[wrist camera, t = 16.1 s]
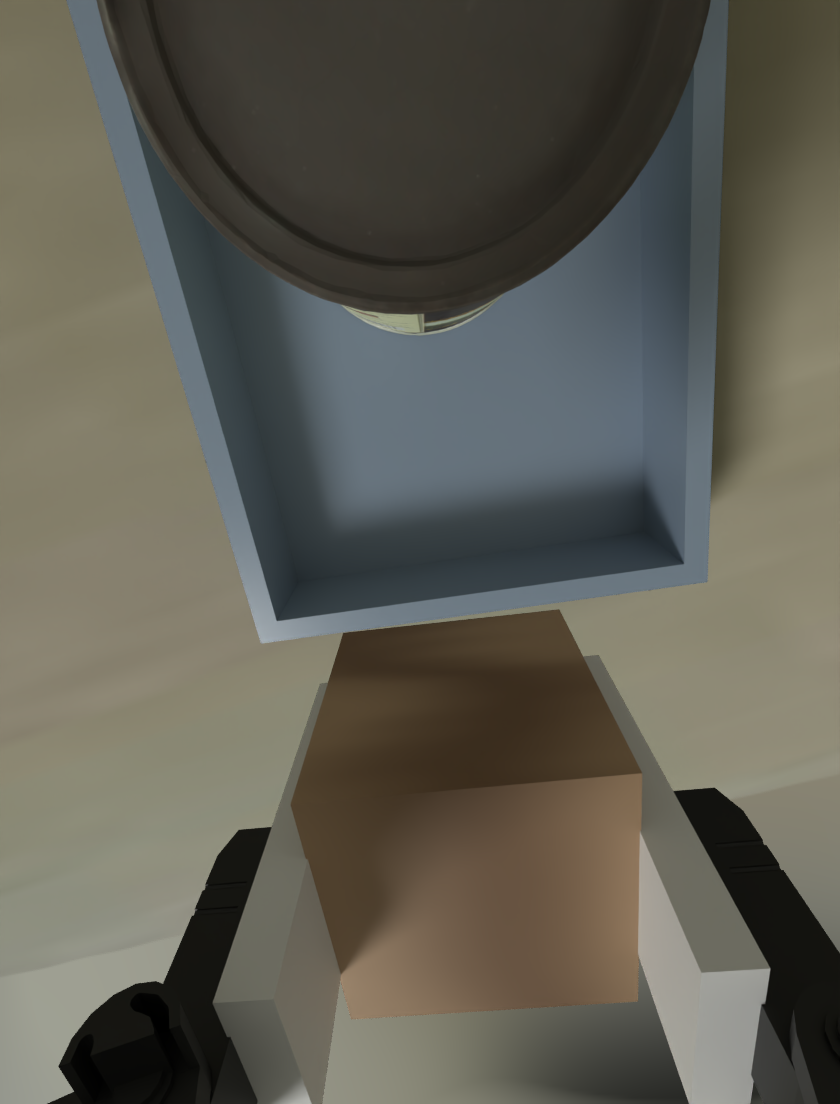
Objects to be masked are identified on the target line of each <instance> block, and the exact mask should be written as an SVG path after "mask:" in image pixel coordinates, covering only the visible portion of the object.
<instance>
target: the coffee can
mask: <svg viewBox="0 0 840 1104" xmlns="http://www.w3.org/2000/svg"><path fill="white" fill-rule="evenodd" d="M96 1H97V6H98V10H99V13H100V17H101V21H102V25H103V29H104V33H105V36H106V39H107V42H108V46H109V49H110V52H111V54H112V57H113V60H114V63H115V66H116V68H117V71H118V74H119V77H120V80H121V82H122V85H123V87H124V90H125V92H126V95H127V97H128V100H129V102H130V104H131V106H132V108H133V110H134V112H135V115H136V117H137V119H138V121H139V123H140V125H141V127H142V128H143V130H144V132H145V134H146V136H147V138H148V140H149V141H150V143H151V145H152V147H153V149H154V150H155V152H156V153H157V155H158V157H159V158H160V160H161V161H162V163H163V165H164V166H165V168H166V169H167V171H168V173H169V174H170V175H171V177H172V178H173V179H174V180H175V182H176V183H177V184H178V186H179V187H180V188H181V190H182V191H183V192H184V194H185V195H186V196H187V198H188V199H189V200H190V202H191V203H192V204H193V205H194V206H195V207H196V208H197V210H198V211H199V212H200V213H201V214H202V215H203V216H204V217H205V219H206V220H207V221H208V222H209V223H210V224H211V225H212V226H214V227H215V228H216V229H217V230H218V231H219V232H220V233H221V234H222V235H223V236H224V237H225V238H226V239H227V240H228V241H229V242H230V243H232V244H233V245H234V246H235V247H236V248H237V249H239V250H240V251H241V252H242V253H243V254H245V255H246V256H247V257H249V258H250V259H252V260H253V261H254V262H256V263H257V264H259V265H260V266H261V267H263V268H264V269H265V270H267V271H268V272H270V273H272V274H274V275H275V276H277V277H279V278H280V279H282V280H284V281H285V282H287V283H289V284H291V285H293V286H295V287H297V288H299V289H301V290H303V291H305V292H307V293H309V294H311V295H314V296H316V297H319V298H321V299H324V300H327V301H330V302H334V303H337V304H340V305H341V306H343V307H344V308H345V309H346V310H347V311H349V312H350V313H352V314H353V315H354V316H356V317H358V318H359V319H361V320H363V321H364V322H366V323H368V324H370V325H372V326H375V327H377V328H379V329H383V330H386V331H390V332H394V333H398V334H404V335H418V336H421V335H430V334H436V333H441V332H445V331H448V330H451V329H454V328H457V327H459V326H461V325H463V324H465V323H467V322H469V321H471V320H473V319H474V318H476V317H478V316H479V315H481V314H482V313H483V312H485V311H486V310H487V309H489V308H490V307H491V306H492V305H493V304H494V303H495V302H496V301H497V300H498V299H500V298H501V297H502V295H503V294H504V293H505V292H508V291H510V290H512V289H514V288H516V287H518V286H521V285H522V284H524V283H526V282H527V281H529V280H531V279H532V278H534V277H536V276H537V275H539V274H541V273H542V272H544V271H546V270H547V269H548V268H550V267H551V266H553V265H554V264H555V263H557V262H558V261H559V260H560V259H562V258H563V257H564V256H565V255H567V254H568V253H569V252H570V251H571V250H572V249H574V248H575V247H576V246H577V245H578V244H579V243H581V242H582V241H583V240H584V239H585V238H586V237H587V236H588V235H589V234H590V233H591V232H592V231H593V230H594V229H595V228H596V227H597V226H598V225H599V224H600V223H601V222H602V221H603V220H604V219H605V218H606V217H607V216H608V214H609V213H610V212H611V211H612V209H613V208H614V207H615V206H616V205H617V203H618V202H619V201H620V200H621V199H622V198H623V196H624V195H625V194H626V193H627V191H628V190H629V189H630V187H631V186H632V185H633V183H634V182H635V180H636V179H637V177H638V175H639V174H640V173H641V171H642V170H643V168H644V167H645V166H646V164H647V162H648V161H649V159H650V158H651V156H652V155H653V153H654V151H655V149H656V148H657V146H658V144H659V142H660V140H661V139H662V137H663V135H664V133H665V131H666V130H667V128H668V126H669V124H670V122H671V120H672V117H673V115H674V113H675V111H676V109H677V107H678V104H679V102H680V100H681V97H682V95H683V92H684V90H685V87H686V85H687V82H688V80H689V77H690V74H691V71H692V69H693V66H694V63H695V60H696V57H697V54H698V51H699V47H700V44H701V41H702V37H703V31H704V27H705V24H706V20H707V17H708V12H709V8H710V2H711V0H96Z"/></svg>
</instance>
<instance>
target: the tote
mask: <svg viewBox="0 0 840 1104" xmlns="http://www.w3.org/2000/svg"><path fill="white" fill-rule="evenodd" d="M67 4H68V7H69V10H70V13H71V17H72V20H73V23H74V27H75V30H76V33H77V37H78V40H79V43H80V47H81V50H82V53H83V56H84V60H85V63H86V66H87V70H88V73H89V76H90V80H91V83H92V86H93V90H94V93H95V96H96V99H97V103H98V106H99V109H100V113H101V116H102V119H103V123H104V126H105V129H106V133H107V136H108V139H109V142H110V146H111V149H112V152H113V156H114V159H115V162H116V166H117V169H118V172H119V176H120V179H121V182H122V185H123V189H124V192H125V195H126V199H127V202H128V205H129V209H130V212H131V215H132V219H133V222H134V225H135V228H136V232H137V235H138V238H139V242H140V245H141V248H142V252H143V255H144V258H145V262H146V265H147V268H148V271H149V275H150V278H151V281H152V285H153V288H154V291H155V295H156V298H157V301H158V305H159V308H160V311H161V314H162V318H163V321H164V324H165V328H166V331H167V334H168V338H169V341H170V344H171V348H172V351H173V354H174V357H175V361H176V364H177V367H178V371H179V374H180V377H181V381H182V384H183V387H184V391H185V394H186V397H187V400H188V404H189V407H190V410H191V414H192V417H193V420H194V424H195V427H196V430H197V434H198V437H199V440H200V443H201V447H202V450H203V453H204V457H205V460H206V463H207V467H208V470H209V473H210V477H211V480H212V483H213V486H214V490H215V493H216V496H217V500H218V503H219V506H220V510H221V513H222V516H223V520H224V523H225V526H226V529H227V533H228V536H229V539H230V543H231V546H232V549H233V553H234V556H235V559H236V562H237V566H238V569H239V572H240V576H241V579H242V582H243V586H244V589H245V592H246V596H247V599H248V602H249V605H250V609H251V612H252V615H253V619H254V622H255V625H256V629H257V632H258V635H259V639H260V642H261V643H268V642H275V641H283V640H290V639H297V638H305V637H312V636H319V635H326V634H334V633H341V632H348V631H355V630H363V629H370V628H377V627H384V626H392V625H399V624H406V623H413V622H421V621H428V620H435V619H442V618H450V617H457V616H464V615H471V614H479V613H486V612H493V611H500V610H508V609H515V608H522V607H530V606H537V605H544V604H551V603H559V602H566V601H573V600H580V599H588V598H595V597H602V596H609V595H617V594H624V593H631V592H638V591H646V590H653V589H660V588H667V587H675V586H682V585H689V584H696V583H704V582H707V577H708V550H709V523H710V496H711V468H712V441H713V414H714V387H715V359H716V332H717V305H718V278H719V251H720V223H721V196H722V169H723V142H724V114H725V87H726V60H727V33H728V6H729V0H711V2H710V8H709V12H708V17H707V20H706V24H705V27H704V31H703V37H702V41H701V44H700V47H699V51H698V54H697V57H696V60H695V63H694V66H693V69H692V71H691V74H690V77H689V80H688V82H687V85H686V87H685V90H684V92H683V95H682V97H681V100H680V102H679V104H678V107H677V109H676V111H675V113H674V115H673V117H672V120H671V122H670V124H669V126H668V128H667V130H666V131H665V133H664V135H663V137H662V139H661V140H660V142H659V144H658V146H657V148H656V149H655V151H654V153H653V155H652V156H651V158H650V159H649V161H648V162H647V164H646V166H645V167H644V168H643V170H642V171H641V173H640V174H639V175H638V177H637V179H636V180H635V182H634V183H633V185H632V186H631V187H630V189H629V190H628V191H627V193H626V194H625V195H624V196H623V198H622V199H621V200H620V201H619V202H618V203H617V205H616V206H615V207H614V208H613V209H612V211H611V212H610V213H609V214H608V216H607V217H606V218H605V219H604V220H603V221H602V222H601V223H600V224H599V225H598V226H597V227H596V228H595V229H594V230H593V231H592V232H591V233H590V234H589V235H588V236H587V237H586V238H585V239H584V240H583V241H582V242H581V243H579V244H578V245H577V246H576V247H575V248H574V249H572V250H571V251H570V252H569V253H568V254H567V255H565V256H564V257H563V258H562V259H560V260H559V261H558V262H557V263H555V264H554V265H553V266H551V267H550V268H548V269H547V270H546V271H544V272H542V273H541V274H539V275H537V276H536V277H534V278H532V279H531V280H529V281H527V282H526V283H524V284H522V285H521V286H518V287H516V288H514V289H512V290H510V291H508V292H505V293H504V294H503V295H502V297H501V298H500V299H498V300H497V301H496V302H495V303H494V304H493V305H492V306H491V307H490V308H489V309H487V310H486V311H485V312H483V313H482V314H481V315H479V316H478V317H476V318H474V319H473V320H471V321H469V322H467V323H465V324H463V325H461V326H459V327H457V328H454V329H451V330H448V331H445V332H441V333H436V334H430V335H421V336H418V335H404V334H398V333H394V332H390V331H386V330H383V329H379V328H377V327H375V326H372V325H370V324H368V323H366V322H364V321H363V320H361V319H359V318H358V317H356V316H354V315H353V314H352V313H350V312H349V311H347V310H346V309H345V308H344V307H343V306H341V305H340V304H337V303H334V302H330V301H327V300H324V299H321V298H319V297H316V296H314V295H311V294H309V293H307V292H305V291H303V290H301V289H299V288H297V287H295V286H293V285H291V284H289V283H287V282H285V281H284V280H282V279H280V278H279V277H277V276H275V275H274V274H272V273H270V272H268V271H267V270H265V269H264V268H263V267H261V266H260V265H259V264H257V263H256V262H254V261H253V260H252V259H250V258H249V257H247V256H246V255H245V254H243V253H242V252H241V251H240V250H239V249H237V248H236V247H235V246H234V245H233V244H232V243H230V242H229V241H228V240H227V239H226V238H225V237H224V236H223V235H222V234H221V233H220V232H219V231H218V230H217V229H216V228H215V227H214V226H212V225H211V224H210V223H209V222H208V221H207V220H206V219H205V217H204V216H203V215H202V214H201V213H200V212H199V211H198V210H197V208H196V207H195V206H194V205H193V204H192V203H191V202H190V200H189V199H188V198H187V196H186V195H185V194H184V192H183V191H182V190H181V188H180V187H179V186H178V184H177V183H176V182H175V180H174V179H173V178H172V177H171V175H170V174H169V173H168V171H167V169H166V168H165V166H164V165H163V163H162V161H161V160H160V158H159V157H158V155H157V153H156V152H155V150H154V149H153V147H152V145H151V143H150V141H149V140H148V138H147V136H146V134H145V132H144V130H143V128H142V127H141V125H140V123H139V121H138V119H137V117H136V115H135V112H134V110H133V108H132V106H131V104H130V102H129V100H128V97H127V95H126V92H125V90H124V87H123V85H122V82H121V80H120V77H119V74H118V71H117V68H116V66H115V63H114V60H113V57H112V54H111V52H110V49H109V46H108V42H107V39H106V36H105V33H104V29H103V25H102V21H101V17H100V13H99V10H98V6H97V1H96V0H67Z"/></svg>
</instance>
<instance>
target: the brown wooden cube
mask: <svg viewBox="0 0 840 1104" xmlns="http://www.w3.org/2000/svg"><path fill="white" fill-rule="evenodd" d="M290 805H291V809H292V812H293V816H294V819H295V823H296V826H297V830H298V833H299V837H300V840H301V844H302V847H303V851H304V854H305V858H306V859H308V862H309V865H310V869H311V872H312V876H313V879H314V883H315V886H316V890H317V893H318V897H319V900H320V903H321V907H322V910H323V914H324V917H325V921H326V924H327V928H328V931H329V935H330V938H331V942H332V945H333V949H334V952H335V956H336V959H337V963H338V966H339V970H340V973H341V978H340V981H341V985H342V988H343V992H344V995H345V999H346V1002H347V1006H348V1009H349V1013H350V1016H351V1019H365V1018H380V1017H397V1016H412V1015H427V1014H428V1015H429V1014H445V1013H460V1012H477V1011H493V1010H507V1009H508V1010H509V1009H524V1008H541V1007H556V1006H572V1005H588V1004H604V1003H620V1002H636V1001H638V967H639V962H638V961H639V955H638V922H639V853H640V831H641V817H642V772H641V770H640V768H639V766H638V764H637V762H636V760H635V758H634V756H633V754H632V752H631V750H630V748H629V746H628V744H627V742H626V740H625V738H624V736H623V734H622V732H621V730H620V728H619V726H618V724H617V722H616V720H615V718H614V716H613V714H612V713H611V711H610V709H609V707H608V705H607V703H606V701H605V699H604V697H603V695H602V693H601V691H600V689H599V687H598V685H597V683H596V681H595V679H594V677H593V675H592V673H591V671H590V669H589V667H588V665H587V663H586V661H585V659H584V657H583V655H582V653H581V652H580V650H579V648H578V646H577V644H576V642H575V640H574V638H573V636H572V634H571V632H570V630H569V628H568V626H567V624H566V622H565V620H564V618H563V616H562V614H561V612H560V610H550V611H541V612H532V613H523V614H513V615H504V616H495V617H486V618H477V619H468V620H458V621H449V622H440V623H431V624H422V625H413V626H403V627H394V628H385V629H376V630H367V631H358V632H348V633H343V636H342V639H341V643H340V646H339V649H338V652H337V655H336V659H335V662H334V665H333V668H332V672H331V675H330V678H329V681H328V685H327V688H326V691H325V694H324V697H323V701H322V704H321V707H320V710H319V714H318V717H317V720H316V723H315V727H314V730H313V733H312V736H311V740H310V743H309V746H308V749H307V752H306V756H305V759H304V762H303V765H302V769H301V772H300V775H299V778H298V782H297V785H296V788H295V791H294V795H293V798H292V801H291V804H290Z"/></svg>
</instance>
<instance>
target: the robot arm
mask: <svg viewBox="0 0 840 1104" xmlns="http://www.w3.org/2000/svg"><path fill="white" fill-rule="evenodd" d="M584 659H585V661H586V663H587V665H588V667H589V669H590V671H591V673H592V675H593V677H594V679H595V681H596V683H597V685H598V687H599V689H600V691H601V693H602V695H603V697H604V699H605V701H606V703H607V705H608V707H609V709H610V711H611V713H612V714H613V716H614V718H615V720H616V722H617V724H618V726H619V728H620V730H621V732H622V734H623V736H624V738H625V740H626V742H627V744H628V746H629V748H630V750H631V752H632V754H633V756H634V758H635V760H636V762H637V764H638V766H639V768H640V770H641V772H642V817H641V831H640V853H639V922H638V955H639V958H640V961H641V964H642V967H643V970H644V973H645V976H646V979H647V982H648V984H649V987H650V990H651V993H652V996H653V999H654V1002H655V1005H656V1008H657V1011H658V1014H659V1016H660V1020H661V1022H662V1025H663V1028H664V1031H665V1034H666V1037H667V1040H668V1043H669V1046H670V1049H671V1052H672V1055H673V1058H674V1061H675V1063H676V1066H677V1069H678V1072H679V1075H680V1078H681V1081H682V1084H683V1087H684V1090H685V1093H686V1096H687V1099H688V1102H689V1104H750V1101H751V1094H752V1088H753V1081H754V1083H755V1085H756V1087H757V1090H758V1092H759V1094H760V1096H761V1099H762V1101H763V1103H764V1104H840V953H839V951H838V950H837V949H836V947H835V946H834V944H833V943H832V941H831V940H830V938H829V937H828V935H827V934H826V932H825V931H824V929H823V928H822V926H821V925H820V923H819V922H818V921H817V919H816V918H815V916H814V915H813V913H812V912H811V910H810V909H809V907H808V906H807V905H806V903H805V901H804V900H803V898H802V897H801V896H800V894H799V893H798V891H797V890H796V888H795V887H794V885H793V884H792V882H791V881H790V879H789V878H788V876H787V875H786V873H785V872H784V870H781V869H780V867H779V863H778V862H777V860H776V859H775V857H774V856H773V854H772V853H771V851H770V850H769V848H768V847H767V845H764V844H763V840H762V838H761V836H760V835H759V834H758V832H757V831H756V829H755V828H754V826H753V825H752V823H751V822H750V820H749V819H748V817H747V816H746V814H745V813H744V811H743V810H742V809H740V808H739V807H738V806H736V805H735V804H734V803H733V802H732V801H730V800H729V799H728V798H727V797H725V796H724V795H723V794H722V793H721V792H719V791H718V790H717V789H716V788H705V789H694V790H682V791H673V790H672V788H671V786H670V785H669V783H668V781H667V779H666V777H665V775H664V774H663V772H662V770H661V768H660V766H659V765H658V763H657V761H656V759H655V757H654V755H653V754H652V752H651V750H650V748H649V746H648V745H647V743H646V741H645V739H644V737H643V735H642V734H641V732H640V730H639V728H638V726H637V724H636V723H635V721H634V719H633V717H632V715H631V714H630V712H629V710H628V708H627V706H626V704H625V703H624V701H623V699H622V697H621V695H620V693H619V692H618V690H617V688H616V686H615V684H614V683H613V681H612V679H611V677H610V675H609V673H608V672H607V670H606V668H605V666H604V664H603V663H602V661H601V659H600V657H599V655H594V656H584ZM327 685H328V683H322V684H320V686H319V689H318V692H317V695H316V698H315V701H314V704H313V707H312V710H311V713H310V716H309V719H308V721H307V724H306V727H305V730H304V733H303V736H302V739H301V742H300V745H299V748H298V751H297V754H296V757H295V760H294V763H293V766H292V769H291V772H290V775H289V778H288V781H287V784H286V787H285V790H284V793H283V796H282V799H281V802H280V805H279V807H278V810H277V813H276V816H275V819H274V822H273V825H272V827H267V828H255V829H243V830H238V832H237V833H236V834H235V835H234V836H233V838H232V839H231V840H230V841H229V842H228V844H227V845H226V846H225V847H224V849H223V850H222V851H221V852H220V853H219V855H218V856H217V858H216V861H215V863H214V865H213V868H212V870H211V872H210V875H209V877H208V880H207V882H206V884H205V886H206V887H205V890H203V891H202V894H201V896H200V898H199V901H198V903H197V905H196V908H195V914H194V916H192V917H191V919H190V922H189V924H188V926H187V929H186V931H185V934H184V936H183V938H182V941H181V943H180V945H179V948H178V950H177V952H176V955H175V957H174V960H173V962H172V964H171V967H170V969H169V971H168V973H167V976H166V978H165V981H164V983H163V984H161V983H159V982H156V981H155V982H147V983H138V984H135V985H133V986H131V987H129V988H127V989H125V990H123V991H121V992H119V993H117V994H115V995H113V996H112V997H111V998H109V999H108V1000H107V1001H106V1002H105V1003H104V1004H103V1005H101V1006H100V1007H99V1008H98V1009H96V1010H95V1011H94V1012H93V1013H92V1014H91V1015H90V1016H89V1017H88V1019H87V1020H86V1021H85V1022H84V1024H83V1025H82V1026H81V1028H80V1029H79V1030H78V1032H77V1033H76V1034H75V1035H74V1037H73V1038H72V1039H71V1041H70V1043H69V1046H68V1048H67V1050H66V1052H65V1054H64V1056H63V1058H62V1060H61V1062H60V1064H59V1068H60V1070H61V1071H62V1073H63V1074H64V1076H65V1078H66V1079H67V1081H68V1082H69V1084H70V1085H71V1087H72V1088H73V1090H74V1092H73V1093H71V1094H68V1095H66V1096H64V1097H61V1098H59V1099H57V1100H55V1101H52V1102H50V1103H48V1104H322V1101H323V1094H324V1086H325V1080H326V1073H327V1067H328V1060H329V1053H330V1046H331V1039H332V1032H333V1025H334V1018H335V1012H336V1005H337V998H338V991H339V984H340V978H341V973H340V970H339V966H338V963H337V959H336V956H335V952H334V949H333V945H332V942H331V938H330V935H329V931H328V928H327V924H326V921H325V917H324V914H323V910H322V907H321V903H320V900H319V897H318V893H317V890H316V886H315V883H314V879H313V876H312V872H311V869H310V865H309V862H308V859H306V858H305V854H304V851H303V847H302V844H301V840H300V837H299V833H298V830H297V826H296V823H295V819H294V816H293V812H292V809H291V805H290V804H291V801H292V798H293V795H294V791H295V788H296V785H297V782H298V778H299V775H300V772H301V769H302V765H303V762H304V759H305V756H306V752H307V749H308V746H309V743H310V740H311V736H312V733H313V730H314V727H315V723H316V720H317V717H318V714H319V710H320V707H321V704H322V701H323V697H324V694H325V691H326V688H327Z"/></svg>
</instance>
